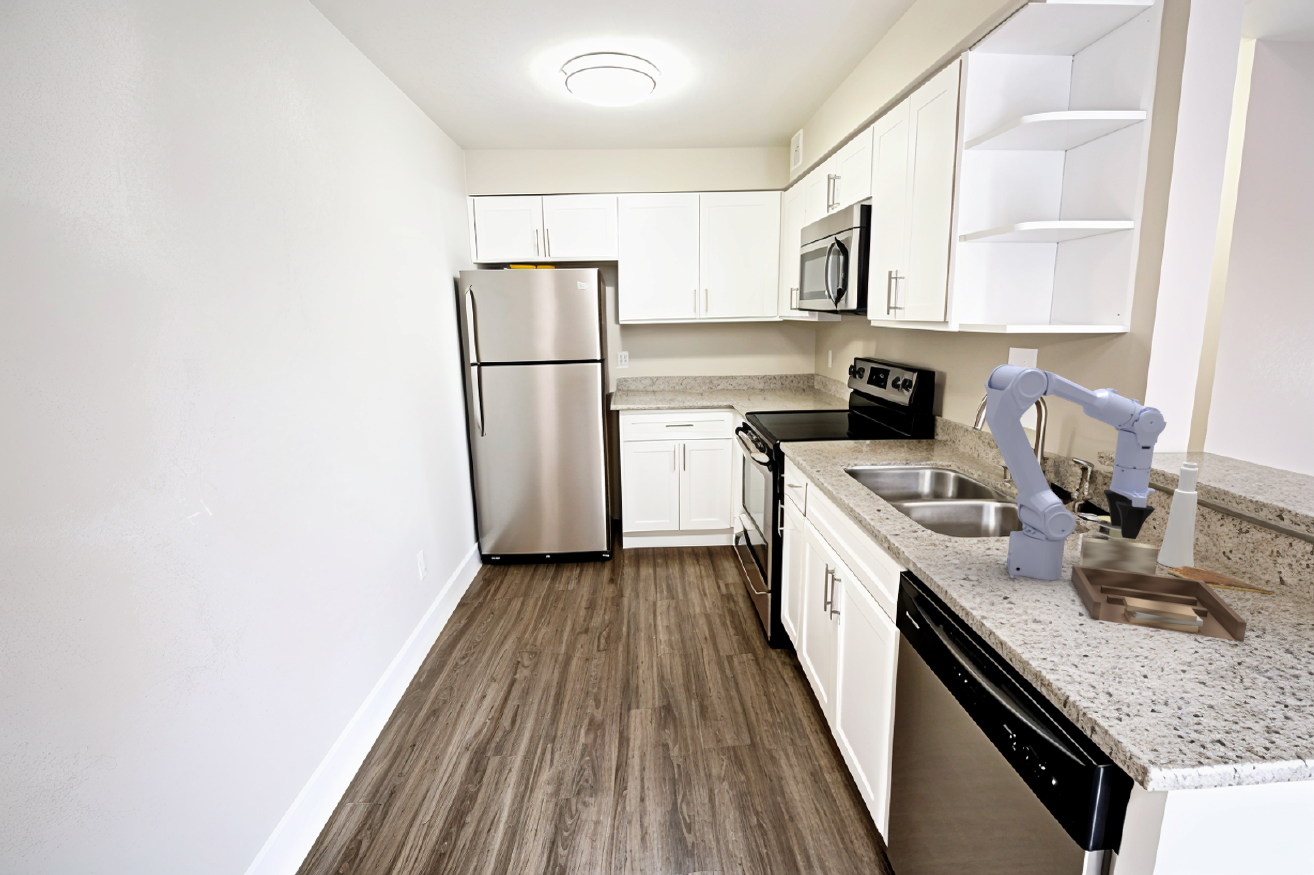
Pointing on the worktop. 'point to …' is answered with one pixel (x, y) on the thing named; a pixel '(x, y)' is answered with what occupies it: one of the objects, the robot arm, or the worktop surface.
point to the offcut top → (1160, 609)
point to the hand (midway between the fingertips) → (1123, 531)
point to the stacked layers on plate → (1111, 530)
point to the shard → (1215, 579)
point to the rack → (1155, 599)
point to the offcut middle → (1166, 619)
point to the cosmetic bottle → (1181, 521)
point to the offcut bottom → (1160, 623)
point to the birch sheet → (1119, 555)
